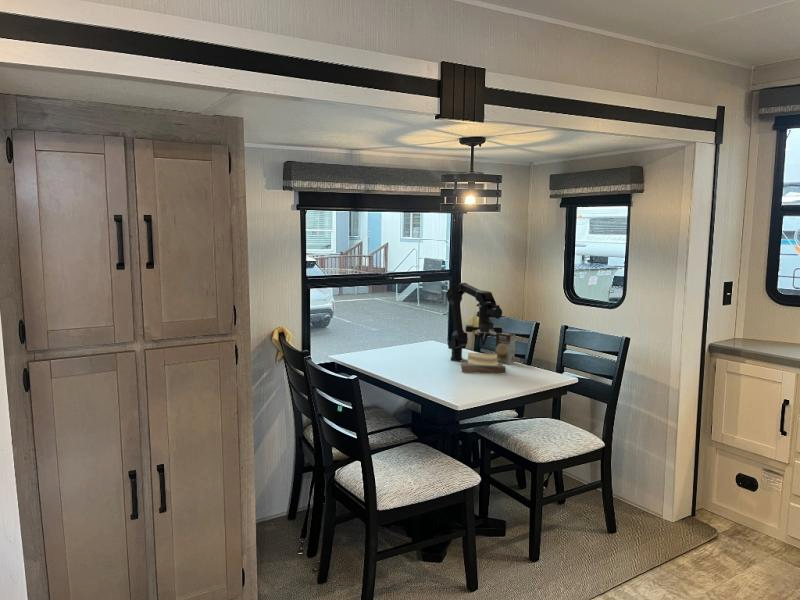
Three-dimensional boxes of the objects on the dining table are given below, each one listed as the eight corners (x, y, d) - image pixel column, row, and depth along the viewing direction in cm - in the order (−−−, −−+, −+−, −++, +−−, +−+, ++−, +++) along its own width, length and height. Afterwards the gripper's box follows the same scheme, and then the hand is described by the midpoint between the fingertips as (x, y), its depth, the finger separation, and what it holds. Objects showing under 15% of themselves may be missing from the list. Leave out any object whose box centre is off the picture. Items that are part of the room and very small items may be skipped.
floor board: (460, 364, 318) (461, 358, 317) (502, 366, 316) (502, 360, 316) (461, 371, 303) (461, 365, 302) (505, 373, 301) (505, 367, 301)
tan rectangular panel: (467, 354, 315) (468, 352, 314) (496, 356, 314) (496, 353, 313) (468, 366, 306) (468, 364, 306) (497, 368, 305) (497, 365, 305)
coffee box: (493, 361, 326) (495, 333, 324) (499, 359, 331) (501, 331, 329) (508, 364, 321) (510, 335, 318) (514, 362, 325) (516, 333, 323)
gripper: (466, 317, 301) (465, 347, 303) (504, 319, 300) (502, 349, 302) (466, 314, 312) (464, 343, 314) (501, 315, 311) (500, 344, 313)
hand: (483, 345), depth 311 cm, fingers closed
